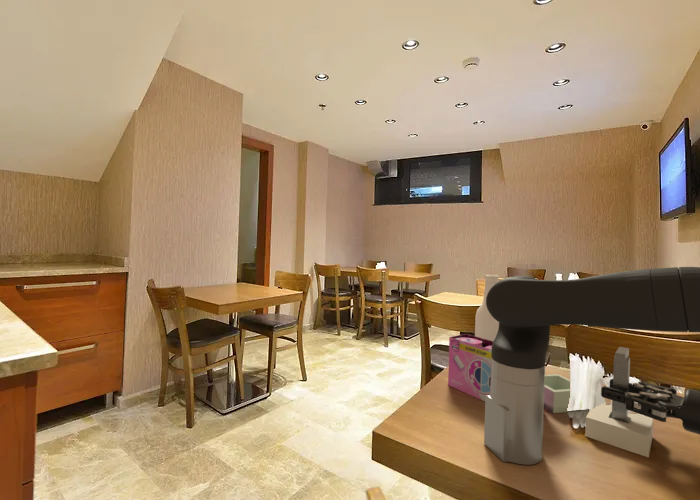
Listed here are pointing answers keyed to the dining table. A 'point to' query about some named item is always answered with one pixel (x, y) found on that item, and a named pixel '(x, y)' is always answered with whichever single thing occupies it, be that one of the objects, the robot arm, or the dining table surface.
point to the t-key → (621, 382)
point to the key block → (620, 430)
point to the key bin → (556, 393)
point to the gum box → (470, 365)
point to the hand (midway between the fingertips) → (606, 387)
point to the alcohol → (486, 314)
